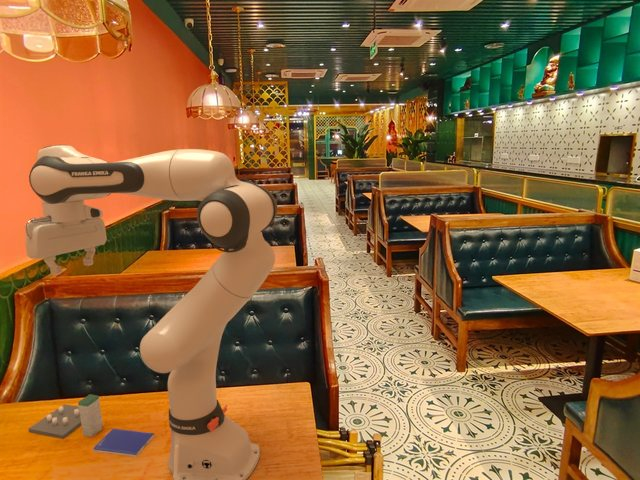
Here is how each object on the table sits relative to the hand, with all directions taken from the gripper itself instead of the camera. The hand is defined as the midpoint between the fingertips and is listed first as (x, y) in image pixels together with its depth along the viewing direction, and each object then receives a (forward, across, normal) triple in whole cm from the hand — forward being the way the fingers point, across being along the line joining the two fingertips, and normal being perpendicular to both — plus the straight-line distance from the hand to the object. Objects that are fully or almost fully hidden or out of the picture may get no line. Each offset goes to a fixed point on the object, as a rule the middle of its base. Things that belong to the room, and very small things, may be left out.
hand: (73, 269), depth 106 cm
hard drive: (+48, +2, -7) cm, 49 cm away
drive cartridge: (+47, +3, +5) cm, 47 cm away
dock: (+46, +4, +17) cm, 49 cm away
